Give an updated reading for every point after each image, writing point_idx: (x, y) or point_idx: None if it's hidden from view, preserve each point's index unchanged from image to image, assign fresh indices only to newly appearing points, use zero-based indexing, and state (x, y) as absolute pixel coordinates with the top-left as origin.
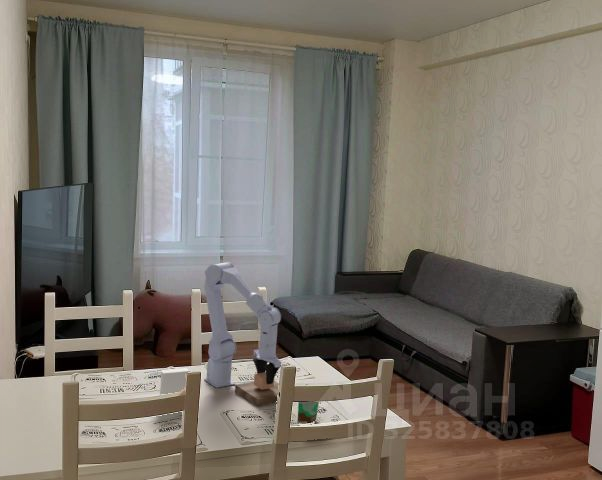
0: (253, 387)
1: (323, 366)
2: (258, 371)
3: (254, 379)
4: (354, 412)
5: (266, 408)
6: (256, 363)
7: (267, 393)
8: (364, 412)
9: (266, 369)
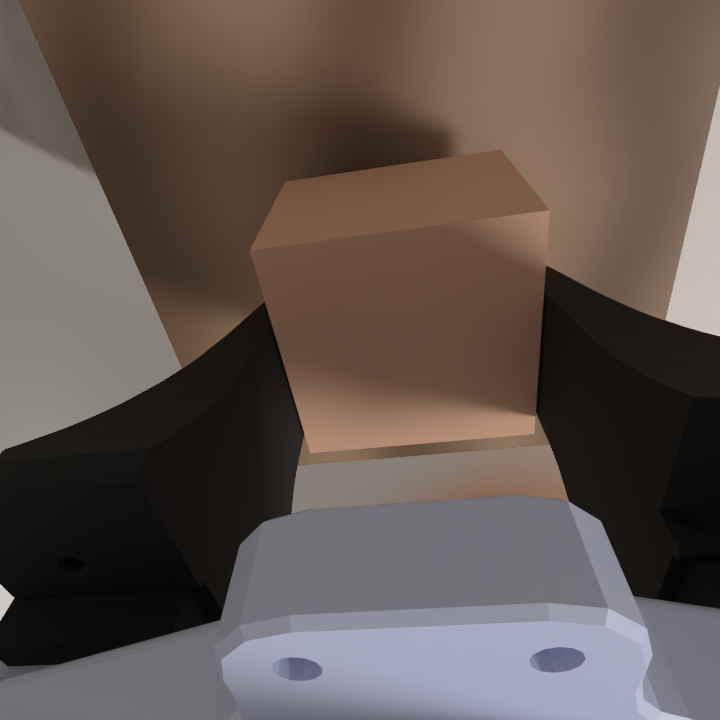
0: (494, 139)
1: None
2: (559, 315)
3: (511, 176)
4: (4, 597)
5: (24, 91)
6: (661, 376)
7: (238, 231)
8: None
9: (133, 422)
